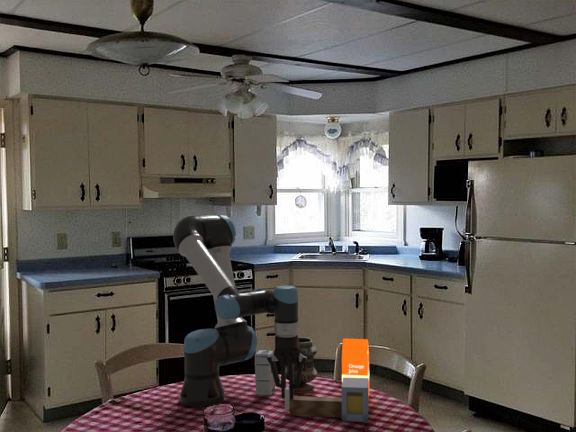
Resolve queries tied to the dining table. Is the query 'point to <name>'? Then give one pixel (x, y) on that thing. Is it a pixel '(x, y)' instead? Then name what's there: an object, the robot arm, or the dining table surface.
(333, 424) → the dining table surface
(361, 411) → the block
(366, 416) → the grey framed box
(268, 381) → the syrup box
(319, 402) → the wooden bar
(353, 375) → the orange juice
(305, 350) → the brown ornate vase
